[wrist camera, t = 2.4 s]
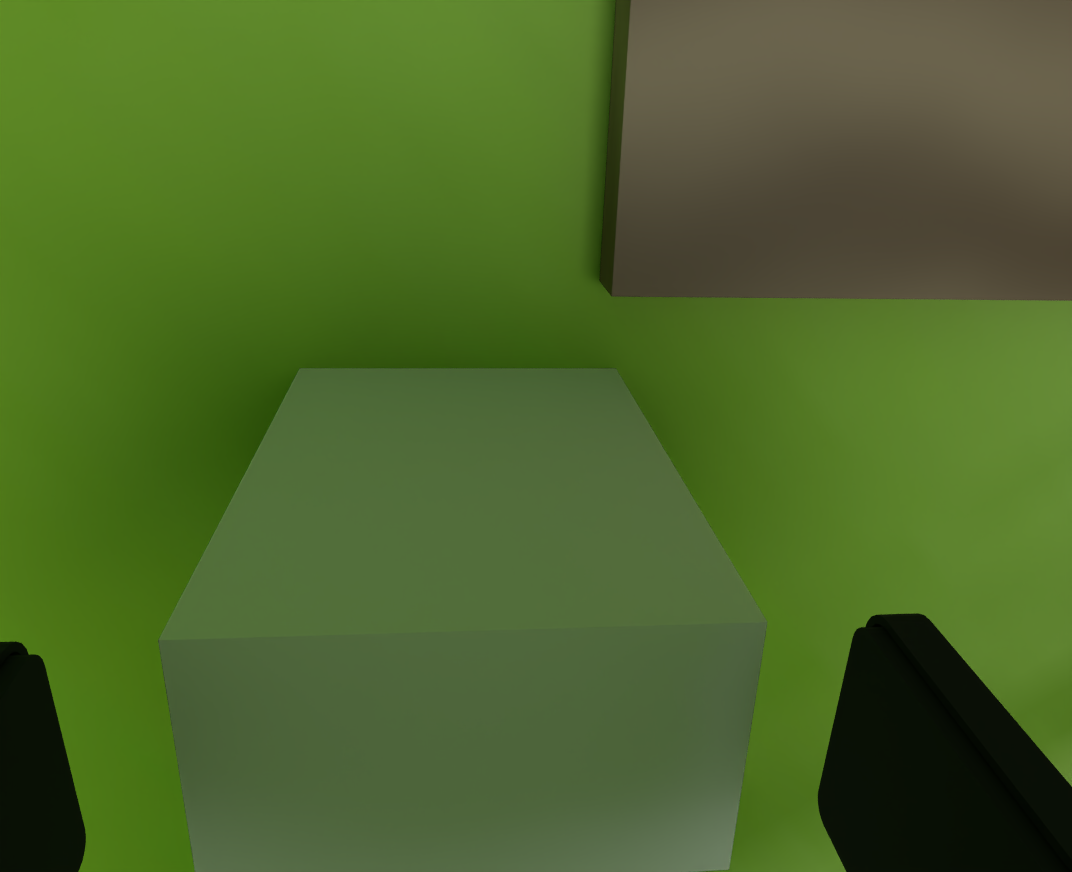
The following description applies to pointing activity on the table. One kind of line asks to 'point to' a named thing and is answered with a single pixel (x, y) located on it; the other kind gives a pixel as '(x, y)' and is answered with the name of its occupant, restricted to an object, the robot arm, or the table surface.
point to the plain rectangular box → (462, 638)
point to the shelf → (840, 150)
